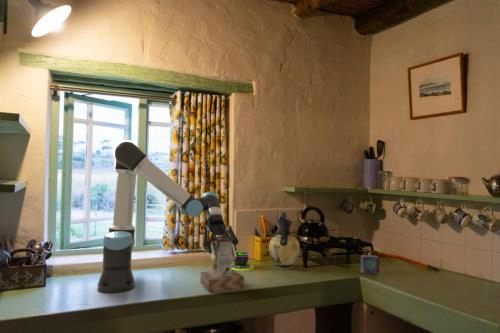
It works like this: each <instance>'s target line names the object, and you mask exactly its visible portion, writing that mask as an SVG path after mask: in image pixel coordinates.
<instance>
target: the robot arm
mask: <svg viewBox="0 0 500 333" xmlns="http://www.w3.org/2000/svg"><path fill="white" fill-rule="evenodd" d="M113 157H114V159H115V161H114V171H115V172H116V173H117V174H116V175H117V176H116V187H115V198H114V199H115V201H114V209H113V210H114V211H113V219H112V220H113V221H112V224H111V225H110V226H109V228H108V233H106V234H105V235H104V236H103V241H102V244H103V250H102V251H103V252H102V253H103V254H102V271H101V274H100V276H99V279H98V282H97V291H99V292H103V293H111V294H112V293H121V292H126V291H130V290H132V289H134V288H135V287H136V280H135V277H134V274H133V271H132V253H133V249H134V246H135V243H136V242H135V234H136V227H135V226H134V225H133V217H134V207H135V205H134V204H135V193H136V185H137V184H136V182H137V175H139V176H140V177H142V178H143V179H145V180H146V181H147V182H148V183H150V185H152V186H153V187H154V188H155V189H157V190H158V191H159V192H160V193H162V194H163V195H164V196H165V197H167V198H168V199H169V200H171V201H172V202H173V203H174V204H176V205H177V206H178V207H179V210H180V214H181V216H182V215H184V216H185V215H186V216H187V215H188V216H190V217H192V218H195V217H196V218H197V217H200V216H201V214H202V213H205V215H206V216H205V217H206V220H207V226H203V229H202V232H203V239H202V240H203V242H202V247H203V248H206V250H207V252H208V254H210V257H211V261H212V262H213V261H214V259H215V254H214V249H213V244H212V243H213V237H215V236H221V237H227V238H229V239H231V240H232V260H233V259H235V258H236V252H237V249H238V248H237V246H238V244H239V239H238V237H237V236H236V234H235V233H234V230H233V227H232V225H229V226H226V224H225V222H224V221H225V220H224V218H223V213H222V210H221V206H220V201H219V198H218V195H217V193H216V192H215V191H212V190H211V191H207V192H204V193H203V194H202V197H195V196H193V195H192V194H190V193H189V192H188V191H187V190H186V189H184V188H183V187H182V186H181V185H180V184H178V183H177V181H175V180H174V179H172V178H171V177H170V176H169V175H167V174H166V172H164V171H163V170H161V169H160V168H159V167H158V166H156V165H155V163H153V162H152V161H151V160H150V159H149V156H148V155H147V154H146V153H144V151H143V150H141V148H140V146H138V145H137V143H135V142H134V141H131V140H122V141H120V142H118V143H117V144H116V145H115V146H114V150H113ZM208 232H210V233H211V235H210V238H209V240H208Z"/></svg>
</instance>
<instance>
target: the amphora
mask: <svg viewBox="0 0 500 333" xmlns="http://www.w3.org/2000/svg"><path fill="white" fill-rule="evenodd" d="M273 222H275V224H276V226H277V228H278V233H277V235H276V236H274V237H272V238H271V239H270V241H269V242H268V243H269V244H268V251H269V254H270V258H271V259H272V260H273V262H275V264H276V265H275V267H276V268H277V269H281V270H289V269H293V268H294V266H293V264H294V262H296V260H297V259H298V257H299V254H300V247H301V246H300V242H299V240H298V239H297V238H296V237H294V236H292V234H291V230H290V229H291V227H292V226H293V225H292V224H293V223H295V220H294V219H287V213H286V212H284V211H283V212H281V214H280V219H274V220H273Z"/></svg>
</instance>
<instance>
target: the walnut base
mask: <svg viewBox="0 0 500 333" xmlns="http://www.w3.org/2000/svg"><path fill="white" fill-rule="evenodd" d="M200 284H201V286H203V287H204V289H205V290H206V291H207V292H208V293H212V292H221V291H232V289H233V290H240V289H241V288H242V289H245V276H244V275H242V274H241V273H239V272H238V271H237V270H234V269H231V276H227V277H218V276H217V275H216V274H214V273H213V270H211V271H210V270H209V271H207V270H206V271H201V272H200Z"/></svg>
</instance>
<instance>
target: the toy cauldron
mask: <svg viewBox="0 0 500 333" xmlns="http://www.w3.org/2000/svg"><path fill="white" fill-rule="evenodd" d="M241 247H242V246H239V248H241ZM243 248H245V247H244V246H243ZM250 256H252V254H251V253H248V252H247V251H236V258H235V259H233V258H232V261H233V263H232V264H231V269H234V270H235V271H237V272H238V271H243V272H244V271H251V270H253V269H255V266H254V265H253V264H249V263H248V262H249V259H250Z"/></svg>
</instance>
